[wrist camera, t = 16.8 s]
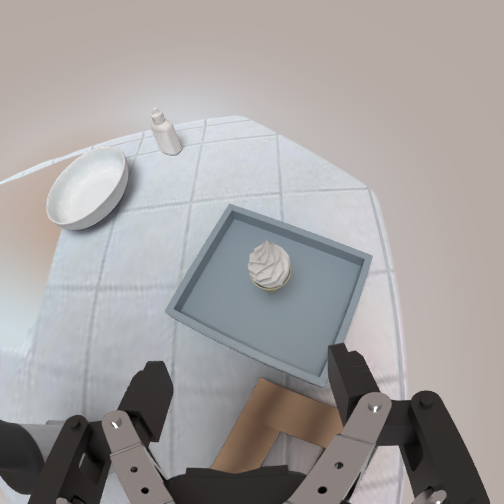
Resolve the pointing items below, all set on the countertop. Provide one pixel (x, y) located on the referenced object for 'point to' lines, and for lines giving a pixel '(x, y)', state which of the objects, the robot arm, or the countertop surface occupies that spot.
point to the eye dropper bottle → (165, 134)
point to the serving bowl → (88, 188)
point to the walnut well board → (275, 426)
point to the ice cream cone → (269, 267)
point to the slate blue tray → (272, 305)
